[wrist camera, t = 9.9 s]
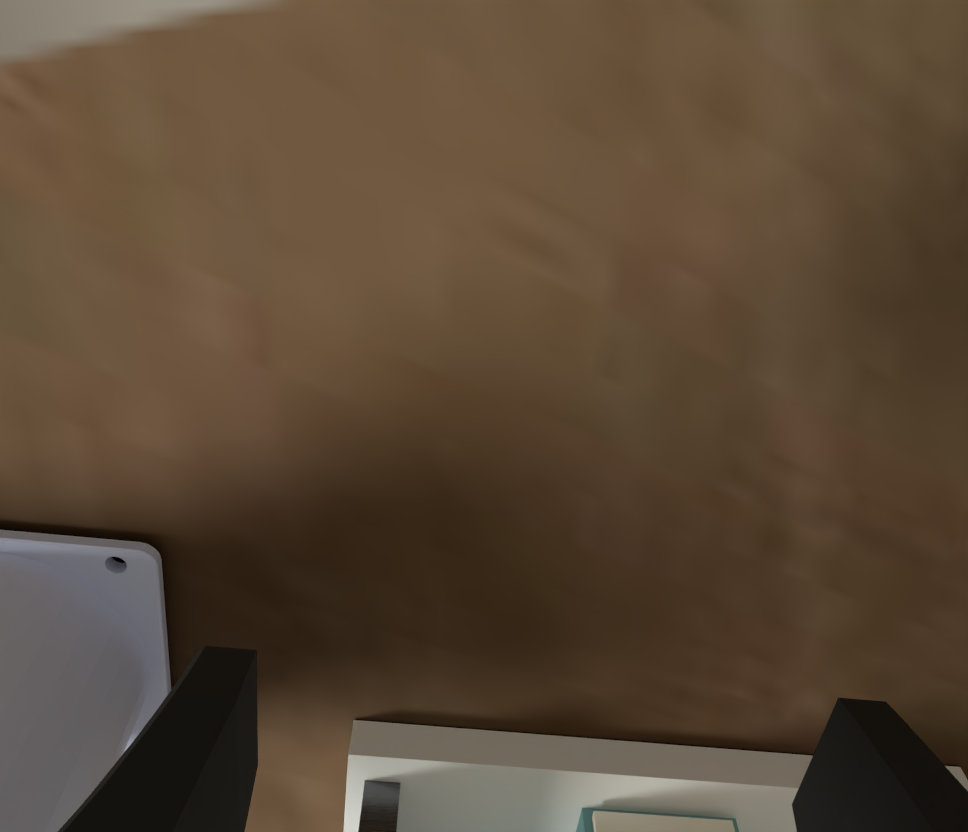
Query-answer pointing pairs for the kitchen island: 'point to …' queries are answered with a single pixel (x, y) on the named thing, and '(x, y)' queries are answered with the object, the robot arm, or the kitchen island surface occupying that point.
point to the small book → (650, 822)
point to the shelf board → (563, 779)
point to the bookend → (379, 806)
